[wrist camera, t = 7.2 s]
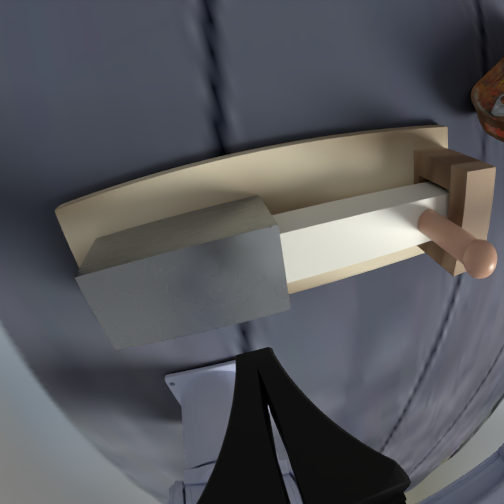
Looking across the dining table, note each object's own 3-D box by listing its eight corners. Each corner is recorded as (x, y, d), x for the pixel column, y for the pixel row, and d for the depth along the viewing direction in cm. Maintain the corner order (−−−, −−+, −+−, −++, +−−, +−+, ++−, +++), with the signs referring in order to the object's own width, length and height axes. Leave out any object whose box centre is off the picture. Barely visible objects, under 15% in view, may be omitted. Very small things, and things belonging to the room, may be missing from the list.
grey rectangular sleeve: (271, 267, 20) (290, 309, 16) (125, 303, 19) (115, 350, 16) (258, 194, 18) (278, 224, 14) (96, 238, 17) (74, 277, 13)
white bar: (435, 218, 20) (515, 276, 13) (216, 276, 19) (236, 386, 11) (438, 179, 18) (527, 229, 11) (204, 231, 17) (217, 334, 10)
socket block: (438, 232, 22) (481, 264, 17) (410, 240, 22) (453, 276, 17) (443, 147, 18) (495, 167, 14) (413, 150, 18) (467, 172, 14)
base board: (433, 241, 23) (440, 247, 23) (117, 326, 21) (115, 335, 21) (438, 124, 18) (447, 126, 18) (60, 204, 16) (54, 210, 16)
